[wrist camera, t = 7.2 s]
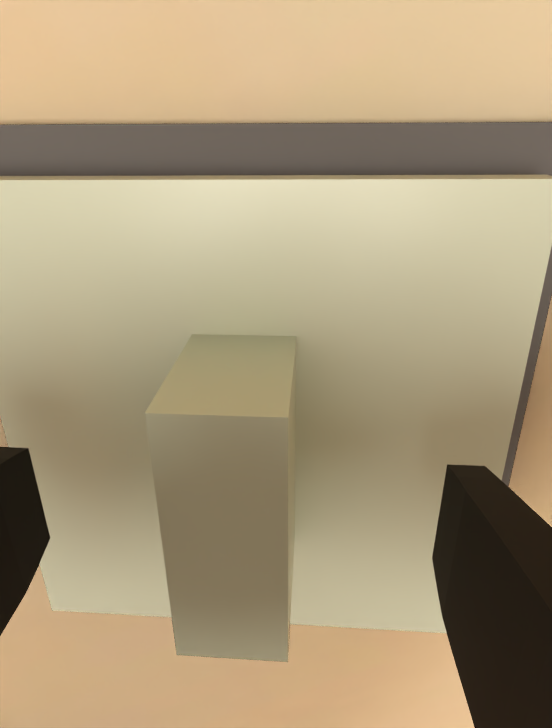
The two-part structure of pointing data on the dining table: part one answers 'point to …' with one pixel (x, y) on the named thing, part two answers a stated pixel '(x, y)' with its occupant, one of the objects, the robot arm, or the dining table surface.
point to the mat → (293, 163)
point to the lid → (261, 387)
